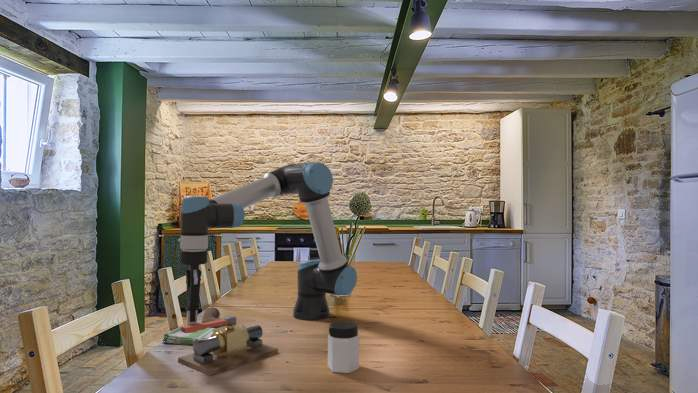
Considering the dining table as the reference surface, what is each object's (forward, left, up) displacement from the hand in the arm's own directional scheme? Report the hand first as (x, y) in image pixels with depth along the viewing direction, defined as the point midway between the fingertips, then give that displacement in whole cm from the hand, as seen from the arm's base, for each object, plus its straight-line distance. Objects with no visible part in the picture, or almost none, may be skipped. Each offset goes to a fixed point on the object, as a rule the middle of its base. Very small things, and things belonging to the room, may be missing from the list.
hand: (191, 332), depth 125 cm
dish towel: (+1, -26, -10) cm, 28 cm away
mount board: (-10, -5, -9) cm, 14 cm away
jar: (-43, +7, -9) cm, 45 cm away
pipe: (-1, -40, -10) cm, 41 cm away
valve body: (-10, -5, -8) cm, 14 cm away
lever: (-5, -1, +1) cm, 5 cm away
